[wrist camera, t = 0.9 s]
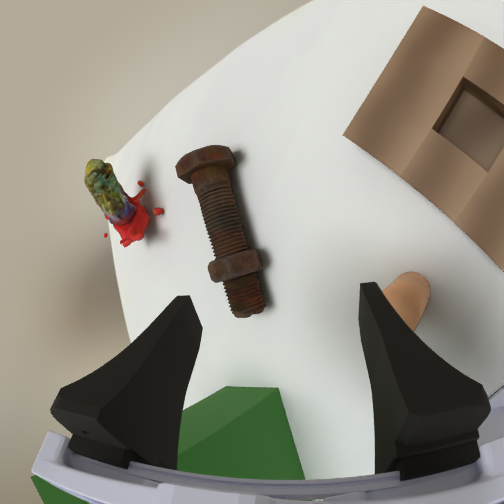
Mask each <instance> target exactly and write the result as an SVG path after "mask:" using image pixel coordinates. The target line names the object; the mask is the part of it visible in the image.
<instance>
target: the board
mask: <svg viewBox="0 0 504 504" xmlns="http://www.w3.org/2000/svg"><path fill="white" fill-rule="evenodd" d="M343 136H345V137H346V138H348V139H349V140H351V141H352V142H353V143H355V144H356V145H358V146H359V147H361V148H362V149H364V150H365V151H366V152H368V153H369V154H370V155H372V156H373V157H375V158H376V159H377V160H379V161H380V162H381V163H383V164H384V165H385V166H387V167H388V168H389V169H391V170H392V171H393V172H395V173H396V174H397V175H398V176H400V177H401V178H402V179H404V180H405V181H406V182H407V183H409V184H410V185H411V186H412V187H414V188H415V189H416V190H417V191H418V192H420V193H421V194H422V195H423V196H424V197H426V198H427V199H428V200H429V201H430V202H432V203H433V204H434V205H435V206H436V207H437V208H438V209H440V210H441V211H442V212H443V213H444V214H445V215H446V216H447V217H449V218H450V219H451V220H452V221H453V222H454V223H455V224H456V225H457V226H458V227H460V228H461V229H462V230H463V231H464V232H465V233H466V234H467V235H468V236H469V237H470V238H471V239H472V240H473V241H474V242H475V243H476V244H477V245H478V246H479V247H480V248H481V249H482V250H483V251H484V252H485V253H486V254H487V255H488V256H489V257H490V258H491V259H492V260H493V261H494V262H495V263H496V264H497V265H498V266H499V267H500V269H501V270H502V271H503V272H504V49H503V48H502V47H500V46H498V45H497V44H495V43H494V42H492V41H490V40H489V39H487V38H485V37H484V36H482V35H480V34H479V33H477V32H475V31H473V30H471V29H470V28H468V27H466V26H464V25H462V24H460V23H458V22H456V21H455V20H453V19H451V18H448V17H446V16H444V15H442V14H440V13H438V12H436V11H434V10H431V9H429V8H427V7H425V6H423V7H422V8H421V10H420V12H419V13H418V15H417V17H416V18H415V20H414V21H413V23H412V25H411V26H410V28H409V30H408V31H407V33H406V35H405V36H404V38H403V39H402V41H401V43H400V44H399V46H398V48H397V49H396V51H395V52H394V54H393V56H392V57H391V59H390V60H389V62H388V64H387V65H386V67H385V68H384V70H383V72H382V73H381V75H380V77H379V78H378V80H377V81H376V83H375V85H374V86H373V88H372V89H371V91H370V93H369V94H368V96H367V97H366V99H365V101H364V102H363V104H362V105H361V107H360V108H359V110H358V112H357V113H356V115H355V116H354V118H353V120H352V121H351V123H350V124H349V126H348V127H347V129H346V131H345V132H344V134H343Z"/></svg>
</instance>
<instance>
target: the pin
mask: <svg viewBox="0 0 504 504" xmlns="http://www.w3.org/2000/svg"><path fill="white" fill-rule="evenodd" d="M382 292H383V294H384V295H385V297H386V298H387V300H388V301H389V302H390V304H391V305H392V306H393V308H394V309H395V310H396V312H397V313H398V314H399V315H400V317H401V318H402V319H403V320H404V321H405V323H406V324H407V325H408V326H409V327H410V328H411V330H412V331H413V332H414V330H415V328H416V326H417V324H418V322H419V320H420V318H421V316H422V314H423V312H424V310H425V307H426V305H427V303H428V301H429V298H430V286H429V283H428V281H427V280H426V279H425V277H423V276H422V275H421V274H419V273H416V272H406V273H403V274H402V275H400V276H399V277H398V278H397V279H396V280H394V281H393V282H392V283H391V284H390V285H389V286H388V287H387V288H386V289H384V290H383V291H382Z"/></svg>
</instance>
